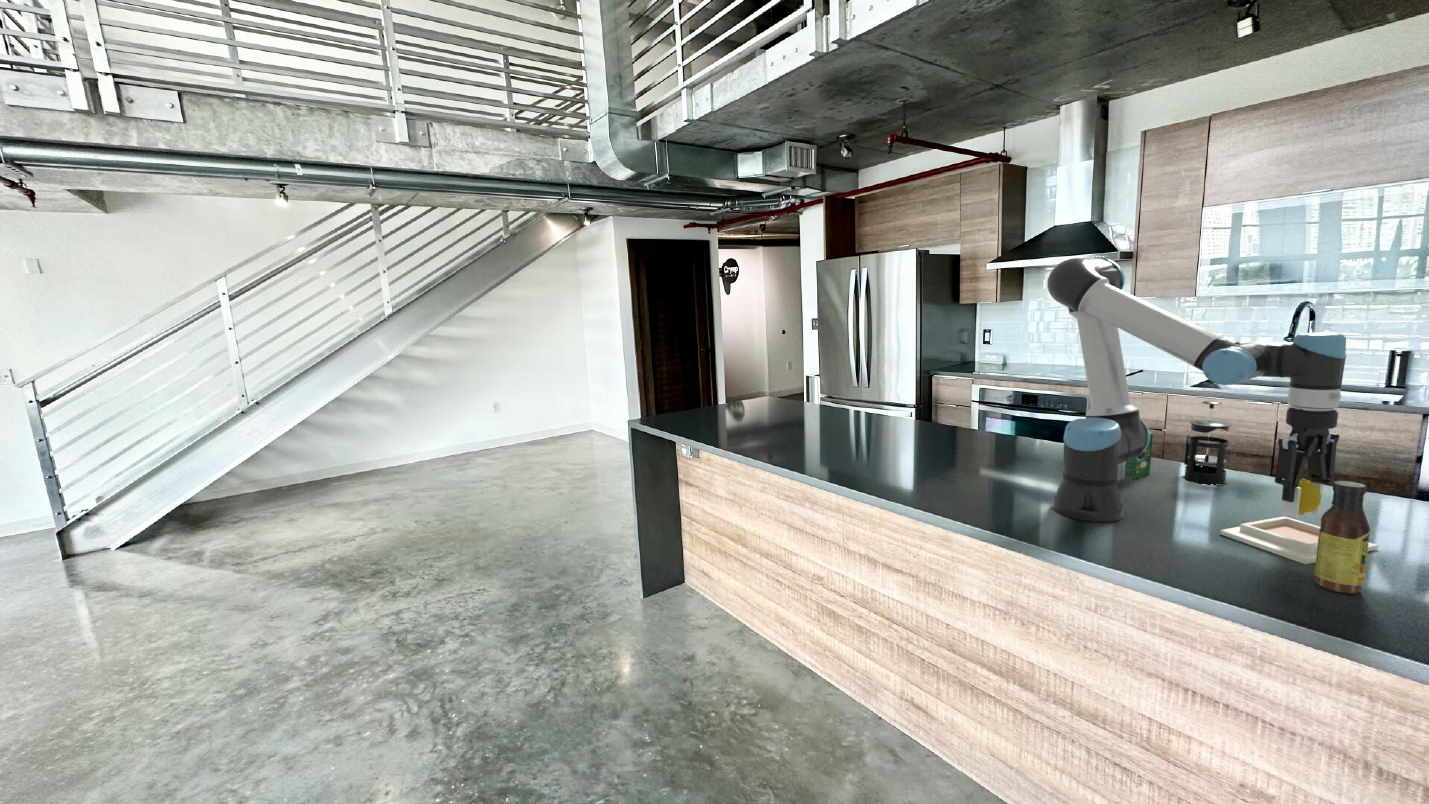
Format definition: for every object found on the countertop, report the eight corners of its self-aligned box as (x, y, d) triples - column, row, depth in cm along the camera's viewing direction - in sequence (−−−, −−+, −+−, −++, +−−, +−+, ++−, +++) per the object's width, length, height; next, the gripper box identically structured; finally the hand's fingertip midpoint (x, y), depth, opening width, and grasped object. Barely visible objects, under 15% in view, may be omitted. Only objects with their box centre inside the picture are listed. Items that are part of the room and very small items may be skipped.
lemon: (1312, 521, 122) (1316, 484, 120) (1277, 513, 126) (1281, 478, 125) (1323, 515, 124) (1327, 479, 123) (1288, 508, 129) (1292, 473, 128)
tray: (1304, 564, 117) (1306, 552, 116) (1220, 534, 132) (1221, 523, 132) (1377, 549, 121) (1379, 538, 121) (1287, 522, 136) (1288, 512, 136)
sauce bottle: (1368, 598, 104) (1384, 492, 100) (1318, 591, 107) (1333, 487, 103) (1353, 582, 109) (1369, 481, 105) (1307, 575, 112) (1320, 477, 109)
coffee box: (1140, 472, 176) (1143, 430, 173) (1150, 475, 173) (1154, 432, 171) (1123, 477, 173) (1126, 434, 170) (1133, 480, 170) (1136, 436, 168)
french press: (1237, 485, 161) (1246, 403, 157) (1204, 487, 161) (1212, 405, 157) (1201, 472, 173) (1208, 396, 169) (1170, 474, 173) (1177, 398, 169)
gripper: (1300, 415, 116) (1287, 525, 120) (1368, 406, 120) (1354, 513, 124) (1258, 408, 123) (1247, 513, 127) (1323, 400, 127) (1311, 502, 131)
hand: (1300, 513), depth 125 cm, fingers closed on lemon, 5 cm apart
